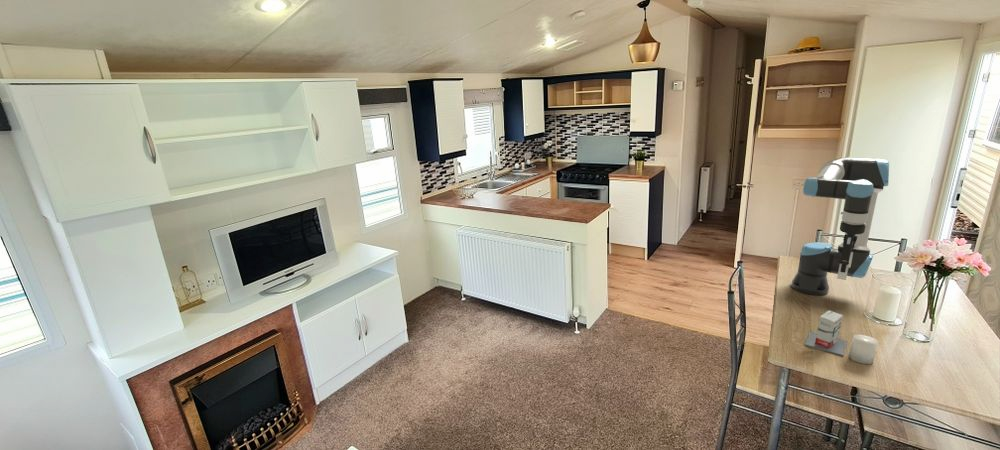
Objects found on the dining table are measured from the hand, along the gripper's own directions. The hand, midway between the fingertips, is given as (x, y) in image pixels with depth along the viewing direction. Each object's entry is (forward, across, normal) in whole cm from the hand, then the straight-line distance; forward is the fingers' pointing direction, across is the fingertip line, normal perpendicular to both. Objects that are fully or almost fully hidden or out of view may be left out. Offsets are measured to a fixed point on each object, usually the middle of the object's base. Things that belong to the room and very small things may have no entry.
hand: (843, 272), depth 173 cm
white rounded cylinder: (+25, +19, +10) cm, 33 cm away
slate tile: (+25, +15, -1) cm, 29 cm away
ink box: (+24, +15, -1) cm, 29 cm away
